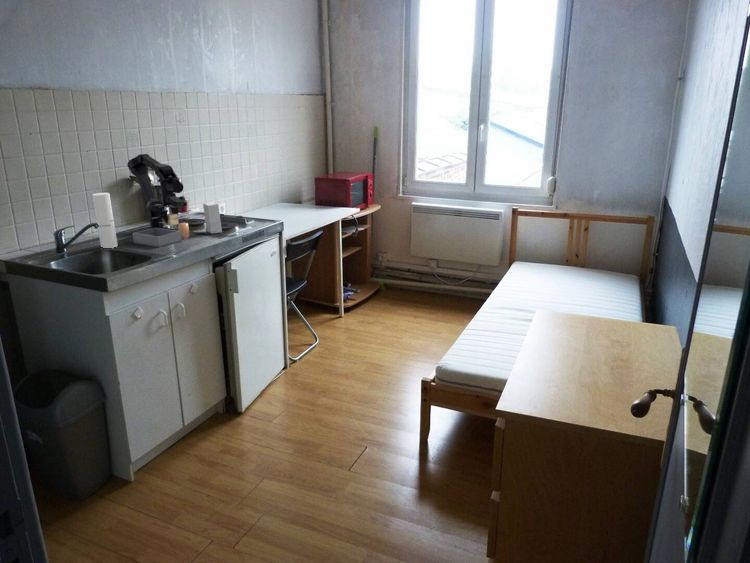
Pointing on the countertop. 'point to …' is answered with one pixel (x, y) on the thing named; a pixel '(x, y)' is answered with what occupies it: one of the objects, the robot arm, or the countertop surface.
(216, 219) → the skincare box
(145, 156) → the robot arm
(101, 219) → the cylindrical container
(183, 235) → the terracotta cylinder
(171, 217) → the beech cube
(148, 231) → the tote
